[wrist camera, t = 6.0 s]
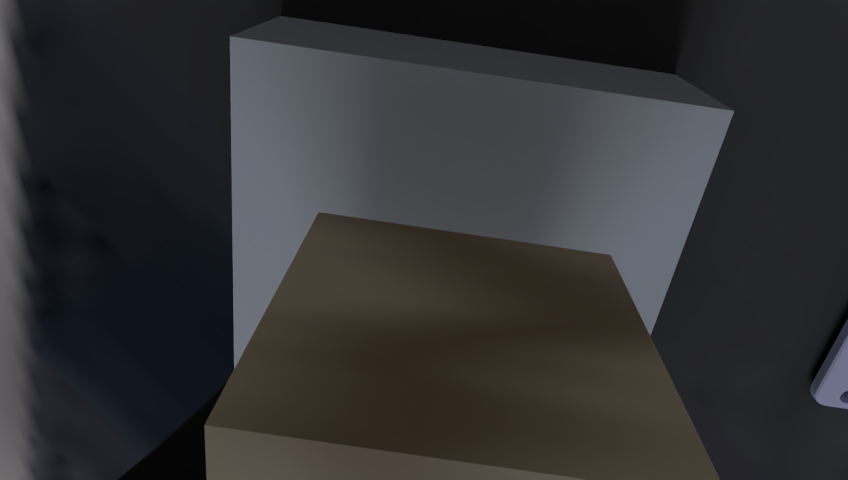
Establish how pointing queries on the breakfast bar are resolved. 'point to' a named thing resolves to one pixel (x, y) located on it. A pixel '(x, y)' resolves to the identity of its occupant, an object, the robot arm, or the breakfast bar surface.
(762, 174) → the breakfast bar surface
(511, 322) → the maple cube
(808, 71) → the breakfast bar surface
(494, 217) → the grey base block
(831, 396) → the robot arm
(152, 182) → the breakfast bar surface
